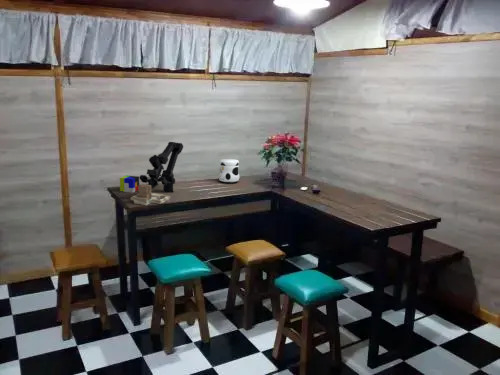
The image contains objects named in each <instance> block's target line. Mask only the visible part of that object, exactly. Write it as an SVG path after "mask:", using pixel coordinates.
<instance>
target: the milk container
mask: <svg viewBox="0 0 500 375" xmlns="http://www.w3.org/2000/svg"><path fill="white" fill-rule="evenodd" d="M239 165H240V161H239V160H238V159H235V158H224V159H223V158H221V159H220V160H219V172H218V181H219V182H221V183H226V184H227V183H228V184H234V183H237V182H239V181H240V177H241V176H240V172H239V169H240V166H239Z"/></svg>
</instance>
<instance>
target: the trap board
mask: <svg viewBox="0 0 500 375" xmlns="http://www.w3.org/2000/svg"><path fill="white" fill-rule="evenodd" d="M170 199H171V196H170V195H165V194H164V193H157V192H151V199H149V200H147V198H139V193H137V194H135V195H133V196H130V201H133V204H135V205H142V206H143V205H144V206H147V205H149V204H152V203H153V204H159V205H160V204H163V203H164V202H167V201H169V200H170Z"/></svg>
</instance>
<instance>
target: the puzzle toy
mask: <svg viewBox="0 0 500 375" xmlns="http://www.w3.org/2000/svg"><path fill="white" fill-rule="evenodd" d="M139 177H140V176H137V175H124V176H122V177H119V192H120V191H123V193H133V194H134V193H135V191H136V192H137V191H138V192H139V189H138V186H140V178H139Z"/></svg>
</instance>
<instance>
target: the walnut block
mask: <svg viewBox="0 0 500 375" xmlns="http://www.w3.org/2000/svg"><path fill="white" fill-rule="evenodd" d="M138 189H139V190H138V194H139V198H147V200H149V199H151V193H152V189H151V185H148V184H143V183H142V184H141V185H140V184H139V186H138Z"/></svg>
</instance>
